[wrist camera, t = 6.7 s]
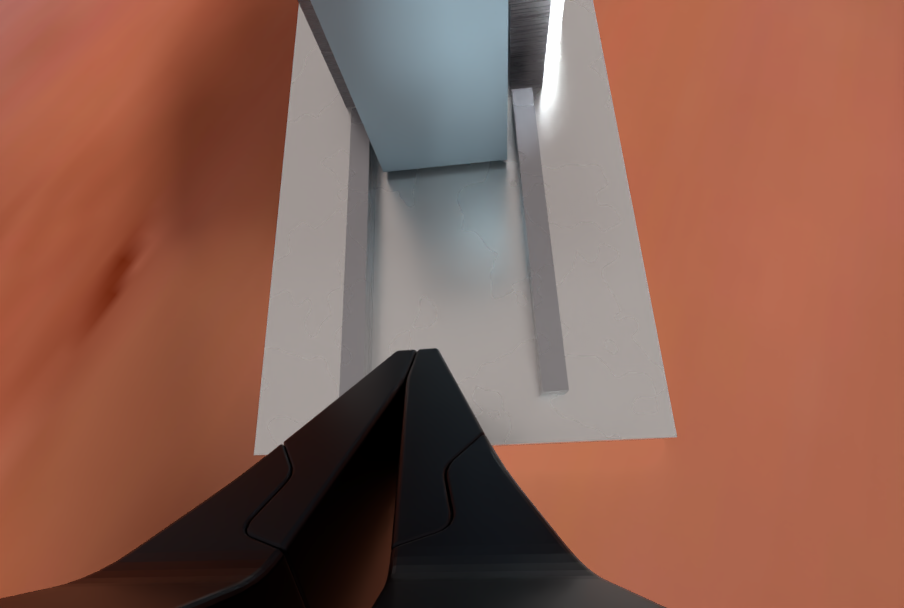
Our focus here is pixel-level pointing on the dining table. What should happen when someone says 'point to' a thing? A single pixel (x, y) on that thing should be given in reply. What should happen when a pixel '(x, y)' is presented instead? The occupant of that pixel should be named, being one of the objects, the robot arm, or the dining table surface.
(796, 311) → the dining table surface
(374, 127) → the light blue bar
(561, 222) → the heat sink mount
